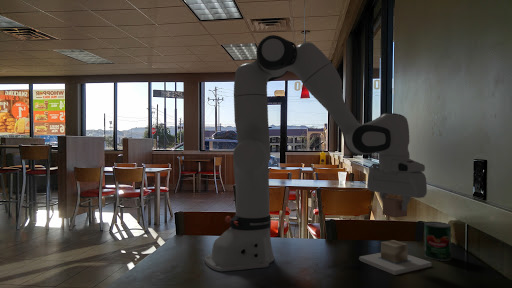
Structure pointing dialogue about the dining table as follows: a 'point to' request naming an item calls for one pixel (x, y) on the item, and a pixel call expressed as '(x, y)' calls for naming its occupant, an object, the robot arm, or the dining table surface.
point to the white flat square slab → (392, 267)
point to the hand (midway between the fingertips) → (394, 208)
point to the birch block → (394, 251)
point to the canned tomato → (437, 240)
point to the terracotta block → (393, 207)
